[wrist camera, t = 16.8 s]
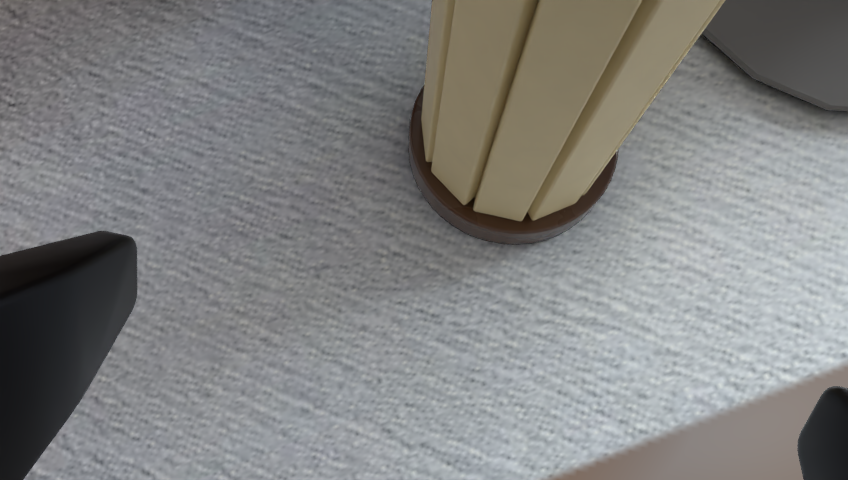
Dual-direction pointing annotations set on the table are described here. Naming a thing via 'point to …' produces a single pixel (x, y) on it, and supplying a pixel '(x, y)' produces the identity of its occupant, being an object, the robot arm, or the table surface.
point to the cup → (788, 46)
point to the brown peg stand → (489, 224)
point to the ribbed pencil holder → (544, 92)
